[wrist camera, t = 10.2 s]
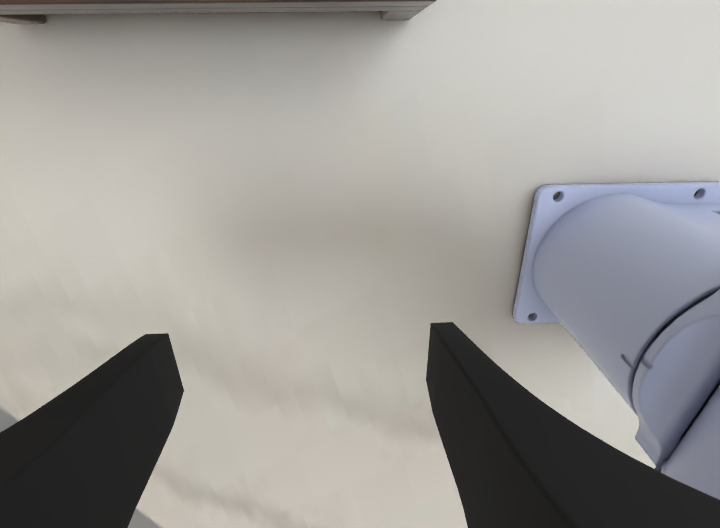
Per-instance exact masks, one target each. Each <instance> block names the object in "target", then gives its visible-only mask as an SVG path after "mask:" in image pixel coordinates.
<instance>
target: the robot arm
mask: <svg viewBox="0 0 720 528" xmlns="http://www.w3.org/2000/svg"><path fill="white" fill-rule="evenodd" d="M698 189H699V192H698V193H697V194H696V195H695V196H694V193H695V192H696V191H697V190H698ZM559 191H560V195H559V197H558V198H557V199H554V200H553V196H554V194H555V193H556V192H559ZM531 313H534V315H532V316H531V317H528V316H529V315H530V314H531ZM513 318H514V319H515V321H516V322H517V323H519V324H539V323H561V324H562V325H563V326H564V327H565V329H566V330H567V331H568V332H569V333H570V335H571V336H572V337H573V338H574V340H575V341H576V342H577V343H578V344H579V346H580V347H581V348H582V349H583V350H584V352H585V353H586V354H587V355H588V357H589V358H590V359H591V360H592V361H593V363H594V364H595V365H596V366H597V367H598V369H599V370H600V371H601V372H602V374H603V375H604V376H605V377H606V378H607V380H608V381H609V382H610V383H611V384H612V386H613V387H614V388H615V389H616V391H617V392H618V393H619V394H620V395H621V397H622V398H623V399H624V400H625V401H626V403H627V404H628V405H629V406H630V407H631V409H632V410H633V411H634V412H635V414H636V415H637V416H638V418H639V429H638V431H637V434H636V436H635V439H636V440H637V442H638V443H639V444H640V446H641V447H642V448H643V450H644V451H645V452H646V453H647V455H648V456H649V457H650V459H651V460H652V461H653V463H654V464H655V465H656V466H657V467H656V468H655V469H653V468H651V467H649V466H647V465H645V464H643V463H641V462H639V461H638V460H636V459H634V458H632V457H630V456H628V455H626V454H625V453H623V452H621V451H619V450H617V449H616V448H614V447H612V446H610V445H609V444H607V443H605V442H604V441H602V440H600V439H599V438H597V437H595V436H594V435H592V434H590V433H589V432H587V431H585V430H584V429H582V428H580V427H579V426H577V425H576V424H574V423H573V422H571V421H570V420H568V419H567V418H565V417H564V416H562V415H561V414H559V413H558V412H556V411H555V410H554V409H552V408H551V407H549V406H548V405H546V404H545V403H544V402H542V401H541V400H539V399H538V398H537V397H535V396H534V395H533V394H531V393H530V392H529V391H528V390H527V389H525V388H524V387H523V386H522V385H520V384H519V383H518V382H517V381H515V380H514V379H513V378H512V377H510V376H509V375H508V374H507V373H506V372H505V371H503V370H502V369H501V368H500V367H499V366H498V365H497V364H496V363H495V362H493V361H492V360H491V359H490V358H489V357H488V356H487V355H486V354H485V353H484V352H483V351H482V350H481V349H480V348H478V347H477V346H476V345H475V344H474V343H473V342H472V341H471V340H470V339H469V338H468V337H467V336H466V335H465V334H464V333H463V332H462V331H461V330H460V329H459V328H458V327H457V326H456V325H455V324H454V323H453V322H446V323H431V327H430V339H429V352H428V364H427V376H426V381H427V386H428V391H429V397H430V402H431V406H432V411H433V415H434V418H435V421H436V424H437V427H438V430H439V433H440V437H441V440H442V443H443V446H444V449H445V452H446V455H447V458H448V461H449V464H450V467H451V470H452V473H453V476H454V479H455V482H456V485H457V488H458V491H459V494H460V498H461V501H462V505H463V509H464V513H465V517H466V521H467V526H468V528H720V182H671V183H618V184H564V185H544V186H542V187H540V188H539V189H538V190H537V191H536V194H535V198H534V203H533V209H532V214H531V219H530V225H529V230H528V235H527V241H526V246H525V251H524V257H523V262H522V267H521V273H520V278H519V283H518V289H517V294H516V299H515V305H514V310H513ZM183 392H184V389H183V386H182V382H181V378H180V375H179V371H178V367H177V364H176V360H175V356H174V353H173V349H172V345H171V342H170V338H169V335H168V333H167V334H145V335H144V336H142V337H140V338H139V339H137V340H136V341H134V342H133V343H131V344H130V345H129V346H127V347H126V348H124V349H123V350H122V351H120V352H119V353H118V354H116V355H115V356H113V357H112V358H111V359H109V360H108V361H107V362H105V363H104V364H102V365H101V366H100V367H98V368H97V369H95V370H94V371H93V372H91V373H90V374H89V375H87V376H86V377H84V378H83V379H82V380H80V381H79V382H77V383H76V384H75V385H73V386H72V387H70V388H69V389H67V390H66V391H64V392H63V393H61V394H60V395H58V396H57V397H55V398H54V399H52V400H51V401H49V402H48V403H46V404H45V405H43V406H42V407H40V408H39V409H37V410H36V411H35V412H33V413H31V414H30V415H28V416H27V417H25V418H24V419H22V420H20V421H19V422H17V423H16V424H14V425H12V426H11V427H9V428H7V429H6V430H4V431H2V432H1V433H0V528H127V527H128V525H129V523H130V520H131V518H132V515H133V513H134V511H135V508H136V506H137V504H138V502H139V500H140V497H141V495H142V493H143V491H144V489H145V487H146V484H147V482H148V480H149V478H150V476H151V473H152V471H153V469H154V467H155V465H156V463H157V461H158V458H159V456H160V454H161V452H162V450H163V447H164V445H165V443H166V441H167V438H168V436H169V434H170V432H171V429H172V427H173V425H174V422H175V418H176V415H177V412H178V409H179V406H180V402H181V399H182V395H183Z"/></svg>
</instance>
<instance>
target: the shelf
mask: <svg viewBox="0 0 720 528" xmlns="http://www.w3.org/2000/svg"><path fill="white" fill-rule="evenodd" d="M435 1H436V0H0V22H6V23H14V24H43V23H45V19H44V16H43V14H114V13H218V12H321V11H381V18H382V20H409V19H411V18H412V17H414V16H415V15H416V14H418V13H419V12H421V11H422V10H423V9H425V8H426V7H428V6H429V5H431V4H432V3H434V2H435Z"/></svg>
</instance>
